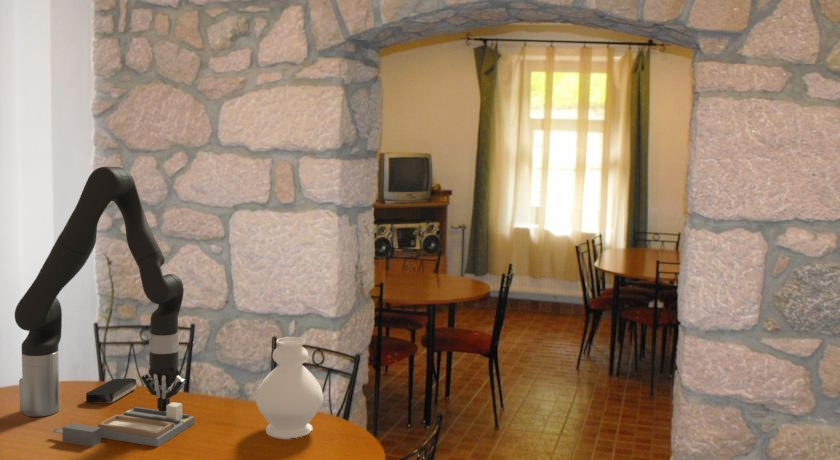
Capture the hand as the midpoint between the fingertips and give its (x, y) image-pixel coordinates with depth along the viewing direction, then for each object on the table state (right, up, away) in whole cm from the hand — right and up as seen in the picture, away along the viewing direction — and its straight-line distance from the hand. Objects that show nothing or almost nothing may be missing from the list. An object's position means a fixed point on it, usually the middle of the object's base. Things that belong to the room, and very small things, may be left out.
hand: (163, 410), depth 216 cm
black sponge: (-22, -1, +21) cm, 31 cm away
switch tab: (+3, -2, -1) cm, 4 cm away
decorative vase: (+34, -6, 0) cm, 35 cm away
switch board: (-4, -4, -4) cm, 7 cm away
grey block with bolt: (-19, -5, -13) cm, 23 cm away
